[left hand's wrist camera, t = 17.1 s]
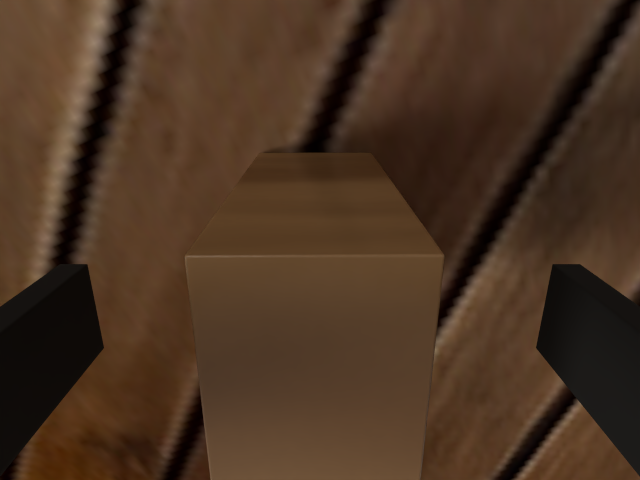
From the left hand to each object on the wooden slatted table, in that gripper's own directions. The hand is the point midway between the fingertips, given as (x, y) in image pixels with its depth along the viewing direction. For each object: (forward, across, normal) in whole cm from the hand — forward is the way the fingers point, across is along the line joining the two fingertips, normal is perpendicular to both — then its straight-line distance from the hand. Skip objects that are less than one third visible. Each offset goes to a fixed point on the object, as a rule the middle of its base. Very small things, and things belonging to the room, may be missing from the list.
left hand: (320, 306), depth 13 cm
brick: (+7, 0, 0) cm, 7 cm away
